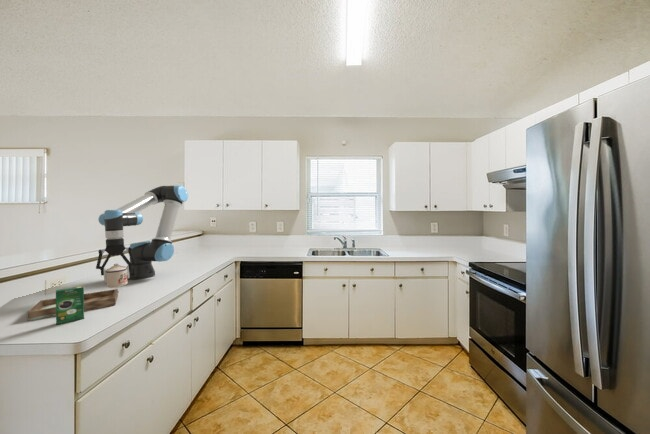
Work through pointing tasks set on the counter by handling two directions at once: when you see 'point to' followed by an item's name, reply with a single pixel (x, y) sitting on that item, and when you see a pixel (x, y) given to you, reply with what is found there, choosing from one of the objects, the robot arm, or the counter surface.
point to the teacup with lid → (116, 276)
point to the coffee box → (69, 304)
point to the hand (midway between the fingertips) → (117, 279)
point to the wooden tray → (90, 302)
